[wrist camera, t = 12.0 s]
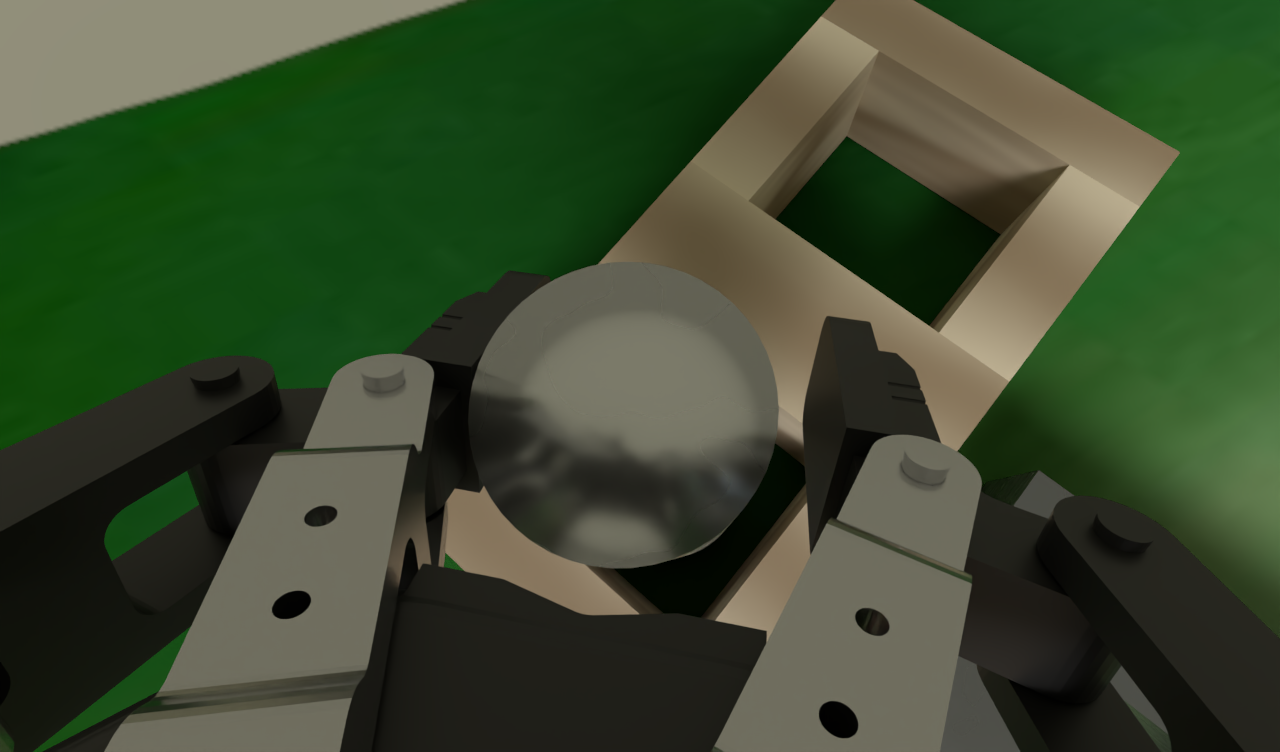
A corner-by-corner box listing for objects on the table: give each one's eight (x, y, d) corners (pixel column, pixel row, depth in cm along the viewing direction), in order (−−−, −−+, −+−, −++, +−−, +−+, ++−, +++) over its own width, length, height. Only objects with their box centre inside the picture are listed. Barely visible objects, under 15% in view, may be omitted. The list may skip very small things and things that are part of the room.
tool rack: (697, 743, 18) (699, 796, 14) (445, 506, 20) (387, 497, 16) (1090, 224, 21) (1180, 152, 17) (833, 66, 23) (862, -29, 19)
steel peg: (579, 497, 20) (406, 427, 9) (662, 398, 21) (605, 207, 9) (680, 586, 19) (637, 641, 8) (764, 480, 20) (844, 382, 8)
